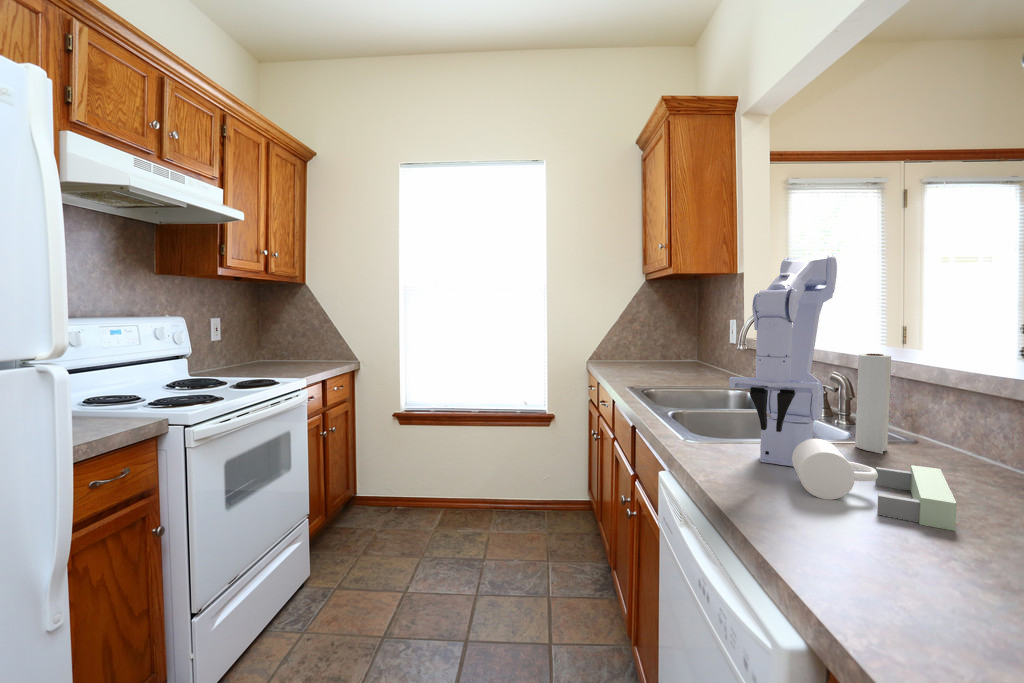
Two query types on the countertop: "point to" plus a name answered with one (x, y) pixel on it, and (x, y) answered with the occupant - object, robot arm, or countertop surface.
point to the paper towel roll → (873, 402)
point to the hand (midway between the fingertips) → (771, 430)
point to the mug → (827, 469)
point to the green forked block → (918, 497)
